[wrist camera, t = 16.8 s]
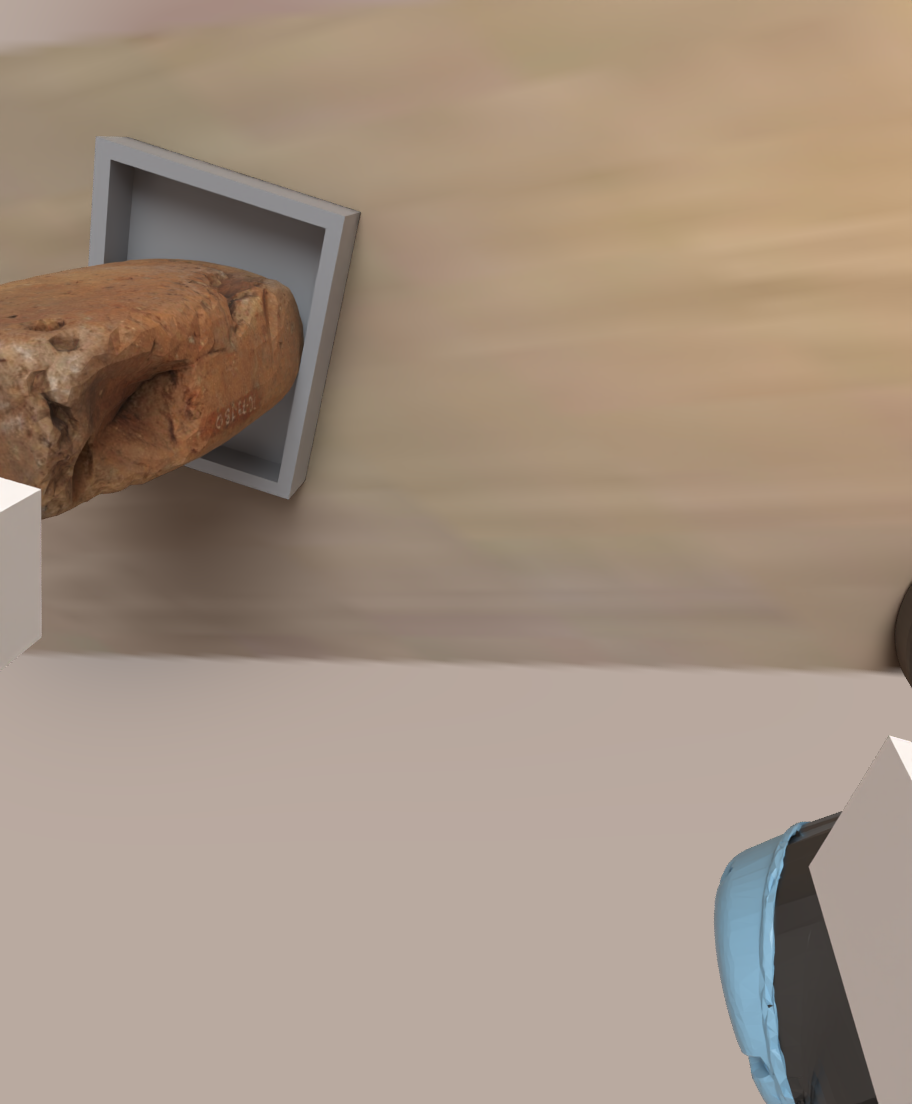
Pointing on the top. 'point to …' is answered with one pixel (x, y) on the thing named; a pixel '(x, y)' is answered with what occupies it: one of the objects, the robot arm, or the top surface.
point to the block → (135, 371)
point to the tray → (242, 242)
